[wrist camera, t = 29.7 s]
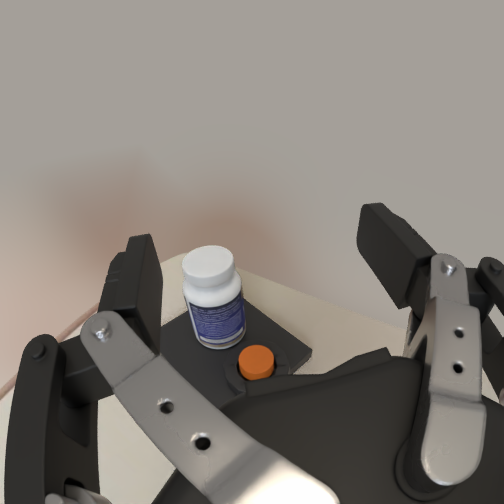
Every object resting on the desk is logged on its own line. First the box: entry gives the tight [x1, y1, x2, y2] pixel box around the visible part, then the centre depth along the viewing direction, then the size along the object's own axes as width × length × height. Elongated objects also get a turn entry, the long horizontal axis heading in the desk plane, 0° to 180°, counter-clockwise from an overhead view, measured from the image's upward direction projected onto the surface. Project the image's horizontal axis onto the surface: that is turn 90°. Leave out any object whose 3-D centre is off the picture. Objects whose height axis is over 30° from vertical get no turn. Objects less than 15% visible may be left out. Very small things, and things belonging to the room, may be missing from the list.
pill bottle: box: [182, 245, 246, 349], centre depth 30 cm, size 6×6×10 cm
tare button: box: [239, 345, 274, 380], centre depth 27 cm, size 3×3×2 cm
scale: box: [160, 298, 312, 409], centre depth 31 cm, size 12×15×3 cm
